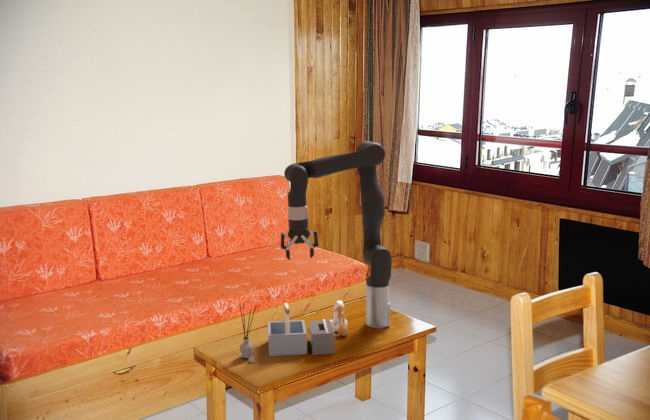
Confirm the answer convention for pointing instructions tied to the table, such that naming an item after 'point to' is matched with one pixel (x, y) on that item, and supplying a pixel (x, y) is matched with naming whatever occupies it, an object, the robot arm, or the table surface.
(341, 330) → the figurine
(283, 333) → the bin
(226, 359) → the table surface
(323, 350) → the dispenser
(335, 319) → the white creature statuette
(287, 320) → the ticket
